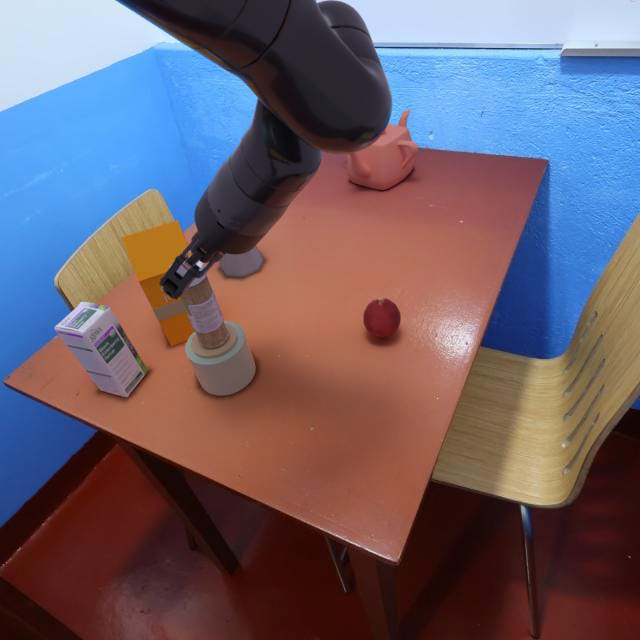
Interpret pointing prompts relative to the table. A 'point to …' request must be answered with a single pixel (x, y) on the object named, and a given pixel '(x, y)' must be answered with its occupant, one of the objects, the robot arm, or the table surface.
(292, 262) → the table surface
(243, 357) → the pale green cylinder
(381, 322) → the onion
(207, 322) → the sprinkles bottle
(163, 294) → the orange juice
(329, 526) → the table surface
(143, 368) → the syrup box
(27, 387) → the table surface
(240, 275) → the coffee maker
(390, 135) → the pot
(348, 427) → the table surface
